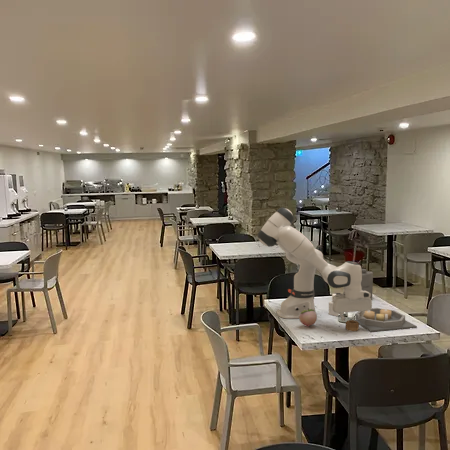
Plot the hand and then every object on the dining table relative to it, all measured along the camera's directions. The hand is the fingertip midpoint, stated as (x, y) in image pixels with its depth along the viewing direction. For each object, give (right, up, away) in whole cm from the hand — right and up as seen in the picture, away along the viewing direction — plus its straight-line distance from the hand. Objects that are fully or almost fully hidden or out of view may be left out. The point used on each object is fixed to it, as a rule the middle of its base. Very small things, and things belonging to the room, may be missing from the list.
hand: (351, 319), depth 230 cm
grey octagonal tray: (+18, -4, +12) cm, 22 cm away
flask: (+22, +1, +53) cm, 57 cm away
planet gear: (0, -5, +1) cm, 5 cm away
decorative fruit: (-21, -5, +6) cm, 22 cm away
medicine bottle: (-1, -3, +26) cm, 26 cm away
